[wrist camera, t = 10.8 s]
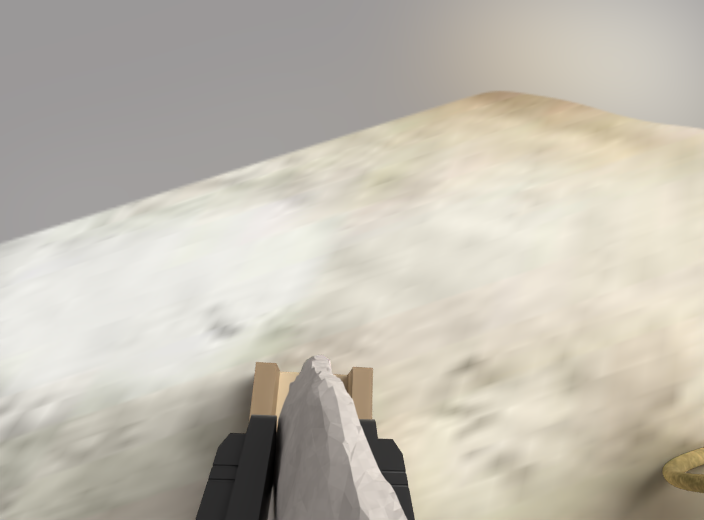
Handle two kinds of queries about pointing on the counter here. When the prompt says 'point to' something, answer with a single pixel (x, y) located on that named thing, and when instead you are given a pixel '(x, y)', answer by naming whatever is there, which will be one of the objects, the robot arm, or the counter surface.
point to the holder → (275, 384)
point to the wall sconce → (682, 464)
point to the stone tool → (326, 455)
